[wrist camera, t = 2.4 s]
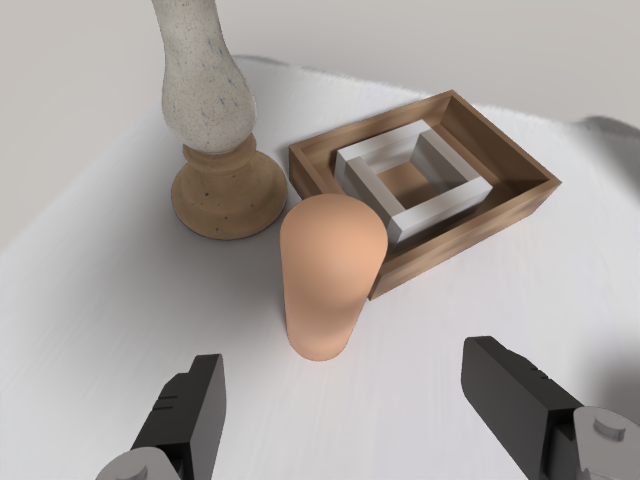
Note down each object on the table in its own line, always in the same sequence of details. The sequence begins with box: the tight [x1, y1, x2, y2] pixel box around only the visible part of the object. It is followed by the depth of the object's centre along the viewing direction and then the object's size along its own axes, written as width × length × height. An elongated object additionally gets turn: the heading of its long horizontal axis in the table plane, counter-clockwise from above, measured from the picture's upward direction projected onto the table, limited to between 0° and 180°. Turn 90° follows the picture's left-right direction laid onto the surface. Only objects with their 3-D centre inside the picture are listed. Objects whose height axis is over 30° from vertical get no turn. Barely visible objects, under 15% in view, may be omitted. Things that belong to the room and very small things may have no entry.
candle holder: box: [152, 0, 287, 240], centre depth 19 cm, size 9×9×20 cm
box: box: [289, 90, 562, 301], centre depth 27 cm, size 16×12×4 cm
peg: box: [280, 194, 388, 361], centre depth 17 cm, size 4×4×11 cm
